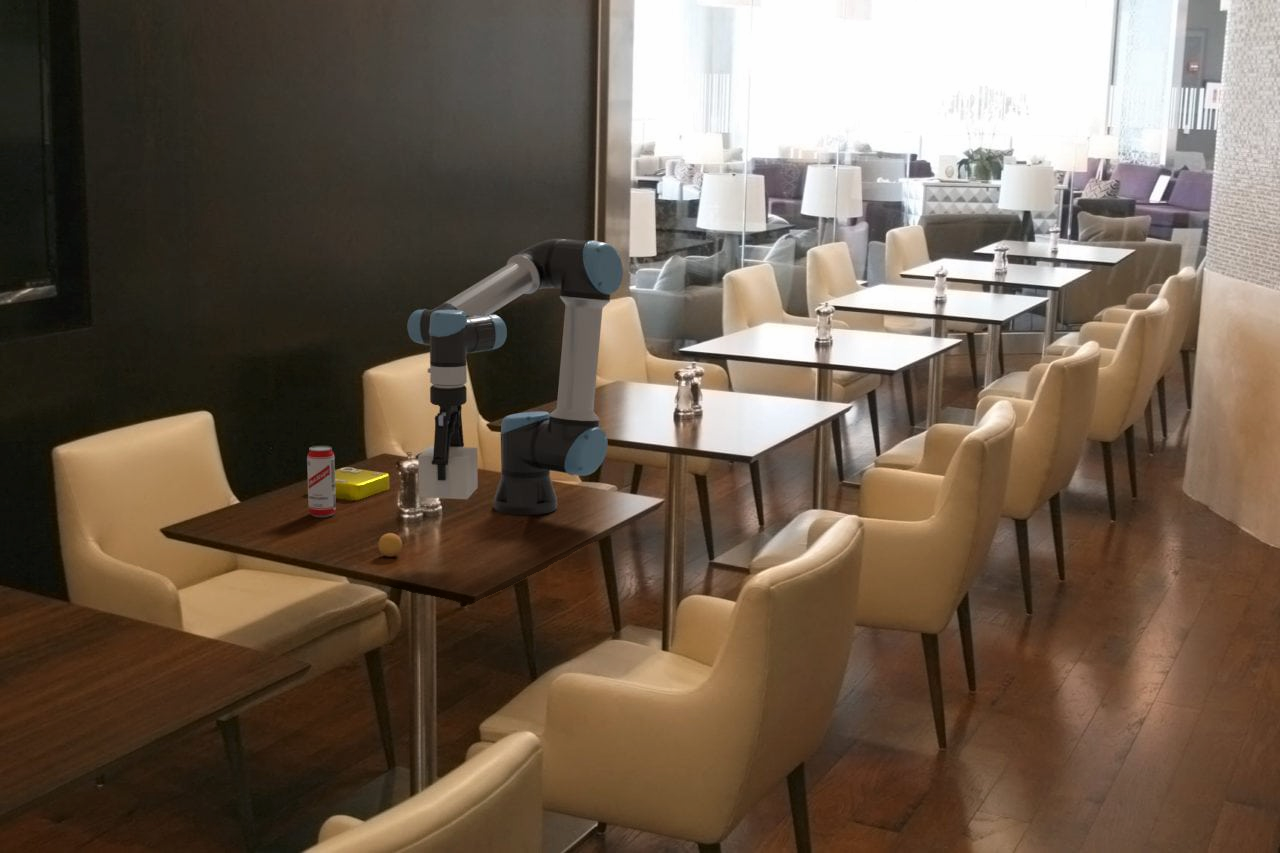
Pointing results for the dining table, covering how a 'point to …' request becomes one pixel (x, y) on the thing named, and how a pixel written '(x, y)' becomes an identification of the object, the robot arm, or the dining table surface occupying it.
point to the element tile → (359, 483)
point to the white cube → (460, 473)
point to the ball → (390, 544)
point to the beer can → (321, 481)
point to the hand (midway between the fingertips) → (449, 488)
